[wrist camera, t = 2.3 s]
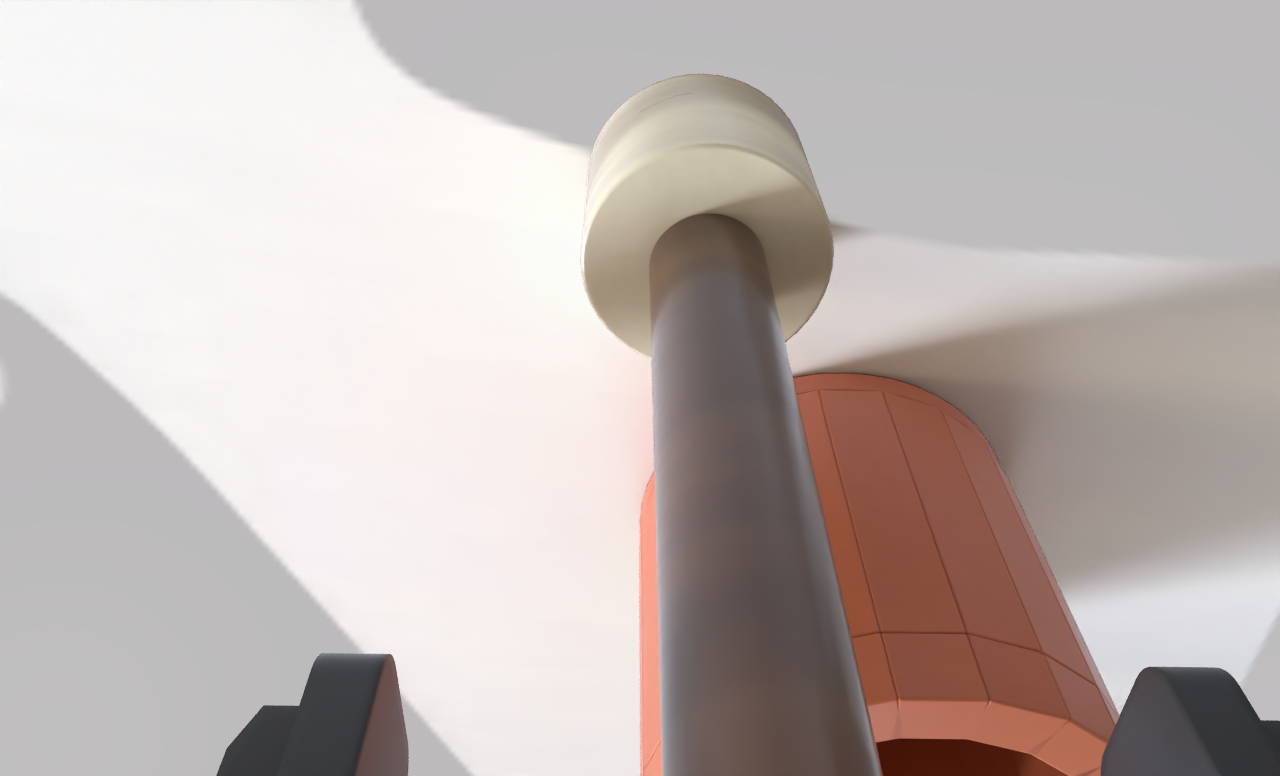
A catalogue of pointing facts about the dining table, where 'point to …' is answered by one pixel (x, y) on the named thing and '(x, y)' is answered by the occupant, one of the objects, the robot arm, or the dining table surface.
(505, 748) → the dining table surface
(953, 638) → the jar
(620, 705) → the dining table surface
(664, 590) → the brown rod with cap
